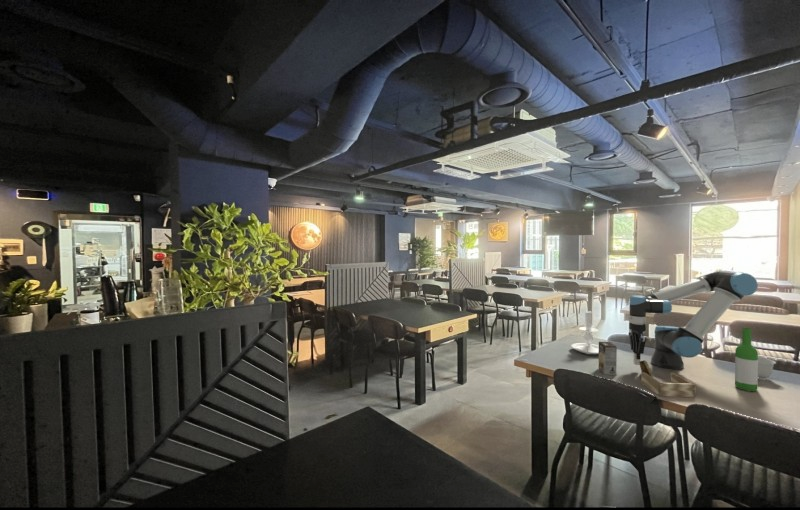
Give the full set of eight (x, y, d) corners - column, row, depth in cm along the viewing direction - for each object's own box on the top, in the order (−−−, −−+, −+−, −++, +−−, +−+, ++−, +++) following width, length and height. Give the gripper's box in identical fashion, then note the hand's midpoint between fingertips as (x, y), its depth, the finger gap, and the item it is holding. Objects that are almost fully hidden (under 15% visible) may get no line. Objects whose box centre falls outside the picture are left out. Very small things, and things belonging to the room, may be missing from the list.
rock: (636, 367, 186) (629, 369, 180) (648, 357, 182) (641, 359, 176) (654, 384, 179) (647, 386, 173) (667, 374, 175) (660, 376, 169)
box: (673, 384, 169) (673, 372, 169) (695, 397, 155) (695, 384, 154) (641, 383, 170) (641, 372, 170) (660, 396, 156) (660, 383, 156)
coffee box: (597, 368, 191) (598, 341, 191) (610, 369, 190) (610, 341, 190) (604, 374, 182) (604, 346, 182) (617, 375, 181) (617, 346, 181)
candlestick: (569, 356, 213) (568, 313, 212) (572, 345, 234) (572, 306, 233) (606, 361, 202) (606, 316, 201) (606, 350, 222) (607, 309, 222)
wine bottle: (756, 393, 157) (757, 331, 156) (733, 387, 163) (734, 328, 162) (758, 389, 162) (759, 328, 161) (736, 383, 168) (737, 325, 167)
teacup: (775, 376, 176) (775, 358, 175) (775, 384, 166) (776, 365, 166) (743, 370, 185) (743, 352, 185) (741, 377, 175) (741, 359, 175)
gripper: (623, 320, 192) (623, 359, 193) (637, 325, 179) (636, 368, 180) (637, 320, 192) (637, 360, 192) (652, 326, 179) (651, 368, 179)
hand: (636, 364), depth 186 cm, fingers closed
